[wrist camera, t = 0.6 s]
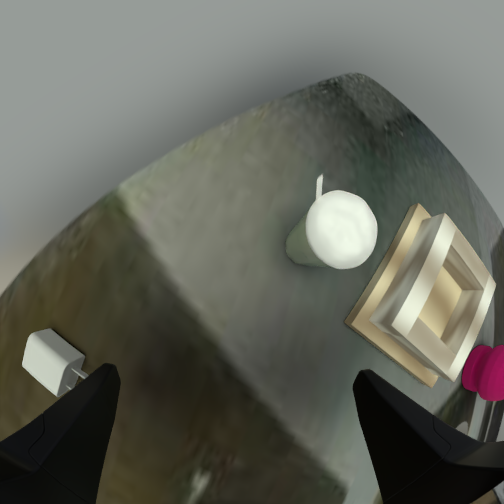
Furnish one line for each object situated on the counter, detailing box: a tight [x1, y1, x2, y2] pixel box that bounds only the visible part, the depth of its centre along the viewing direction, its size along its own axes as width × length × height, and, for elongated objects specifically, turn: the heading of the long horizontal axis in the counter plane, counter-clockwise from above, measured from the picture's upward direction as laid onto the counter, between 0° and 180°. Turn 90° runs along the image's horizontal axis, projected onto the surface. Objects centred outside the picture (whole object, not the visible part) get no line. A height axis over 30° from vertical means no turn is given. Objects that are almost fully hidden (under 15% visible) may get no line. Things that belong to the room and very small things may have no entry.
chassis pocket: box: [344, 203, 496, 388], centre depth 21 cm, size 14×14×5 cm
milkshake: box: [285, 174, 377, 269], centre depth 18 cm, size 5×5×10 cm
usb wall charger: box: [22, 328, 89, 397], centre depth 18 cm, size 4×7×4 cm, turn 62°
